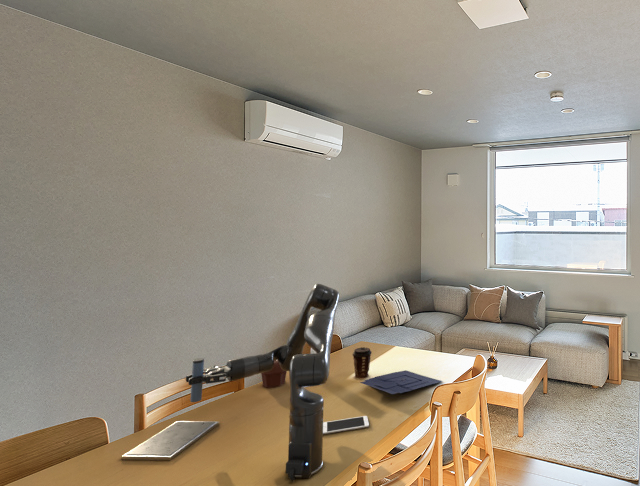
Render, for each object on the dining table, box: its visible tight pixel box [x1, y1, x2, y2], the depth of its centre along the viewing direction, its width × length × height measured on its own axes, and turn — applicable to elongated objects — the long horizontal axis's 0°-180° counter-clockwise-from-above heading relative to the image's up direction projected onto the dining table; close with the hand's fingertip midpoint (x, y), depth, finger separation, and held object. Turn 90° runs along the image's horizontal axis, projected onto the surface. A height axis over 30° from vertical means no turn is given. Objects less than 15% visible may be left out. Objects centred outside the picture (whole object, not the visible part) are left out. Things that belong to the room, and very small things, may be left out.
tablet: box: [121, 420, 220, 461], centre depth 129 cm, size 22×15×1 cm
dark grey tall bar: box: [189, 357, 205, 403], centre depth 137 cm, size 3×3×14 cm
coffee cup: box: [352, 346, 373, 380], centre depth 187 cm, size 9×8×13 cm
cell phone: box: [323, 415, 370, 435], centre depth 140 cm, size 8×16×1 cm, turn 111°
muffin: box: [260, 360, 288, 389], centre depth 177 cm, size 12×11×10 cm
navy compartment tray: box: [359, 370, 443, 395], centre depth 176 cm, size 24×30×4 cm
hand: (187, 380), depth 135 cm, fingers closed on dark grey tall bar, 3 cm apart
